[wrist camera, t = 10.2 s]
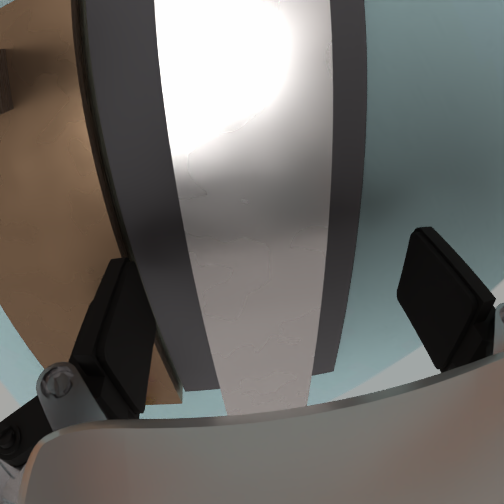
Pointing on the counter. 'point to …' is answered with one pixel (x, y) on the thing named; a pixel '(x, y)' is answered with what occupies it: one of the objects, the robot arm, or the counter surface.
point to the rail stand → (57, 186)
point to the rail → (253, 182)
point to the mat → (164, 184)
